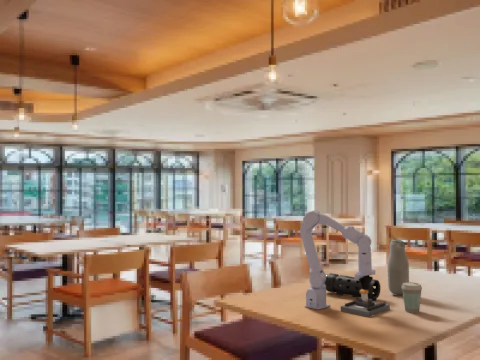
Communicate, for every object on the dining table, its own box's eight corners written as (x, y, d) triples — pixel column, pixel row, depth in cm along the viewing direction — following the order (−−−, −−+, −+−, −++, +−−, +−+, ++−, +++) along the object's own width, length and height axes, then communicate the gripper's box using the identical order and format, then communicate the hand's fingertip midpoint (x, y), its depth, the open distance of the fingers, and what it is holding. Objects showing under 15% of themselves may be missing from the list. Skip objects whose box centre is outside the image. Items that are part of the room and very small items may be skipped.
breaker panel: (368, 317, 193) (368, 304, 193) (340, 311, 203) (340, 299, 203) (389, 308, 205) (389, 297, 206) (362, 303, 215) (362, 292, 216)
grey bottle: (412, 294, 233) (410, 239, 233) (404, 298, 225) (403, 241, 226) (393, 291, 239) (392, 238, 240) (384, 295, 232) (383, 239, 232)
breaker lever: (367, 301, 202) (365, 291, 202) (360, 300, 205) (359, 290, 204) (369, 299, 204) (368, 290, 203) (363, 298, 206) (361, 289, 205)
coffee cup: (420, 315, 195) (420, 286, 195) (399, 312, 200) (399, 284, 200) (424, 310, 202) (423, 283, 203) (404, 307, 207) (403, 281, 207)
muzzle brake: (372, 302, 217) (371, 281, 218) (321, 294, 236) (321, 274, 236) (381, 299, 225) (380, 277, 225) (331, 291, 243) (330, 271, 243)
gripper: (364, 265, 197) (365, 297, 197) (381, 261, 207) (381, 291, 207) (350, 263, 202) (350, 294, 202) (367, 259, 212) (367, 289, 212)
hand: (365, 292), depth 205 cm, fingers closed, pressing on breaker lever
